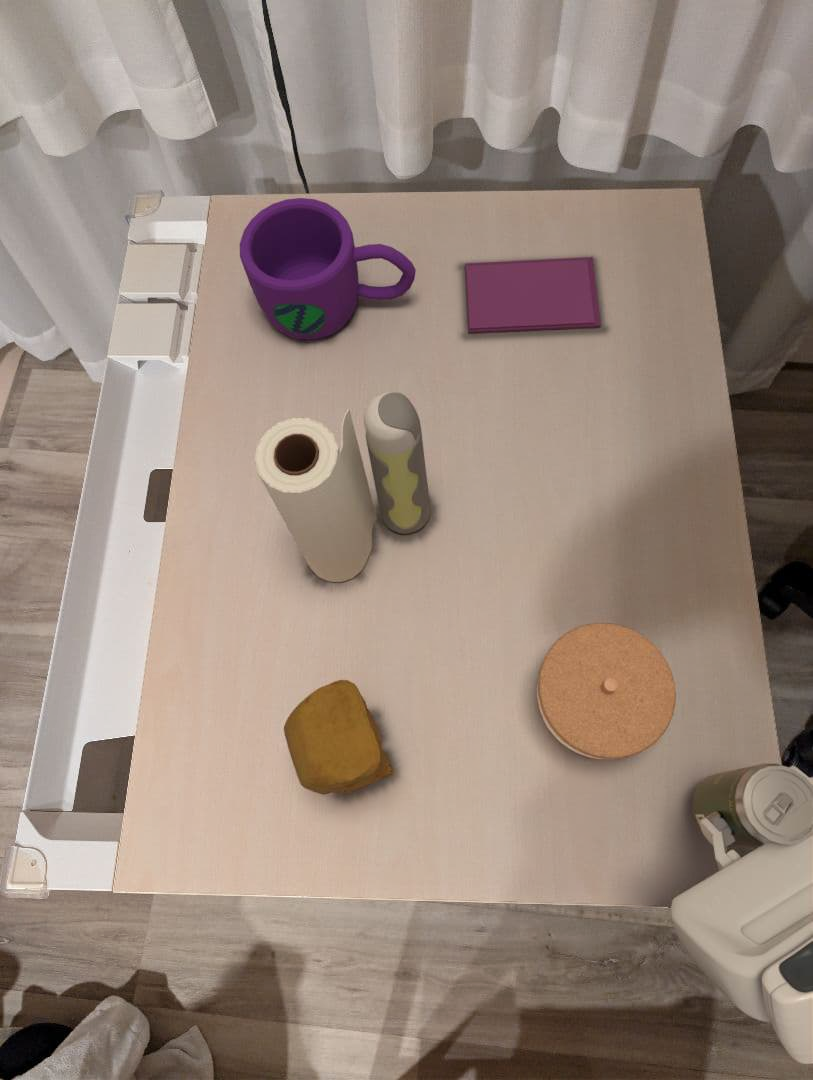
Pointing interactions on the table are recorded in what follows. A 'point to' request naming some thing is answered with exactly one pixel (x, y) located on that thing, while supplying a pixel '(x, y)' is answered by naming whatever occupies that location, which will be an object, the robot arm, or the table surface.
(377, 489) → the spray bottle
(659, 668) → the trinket box
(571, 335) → the table surface
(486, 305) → the flat purple rectangular slab
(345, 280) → the mug
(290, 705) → the table surface
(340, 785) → the wooden tiki figurine
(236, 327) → the table surface
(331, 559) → the paper towel roll
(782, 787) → the beer can
